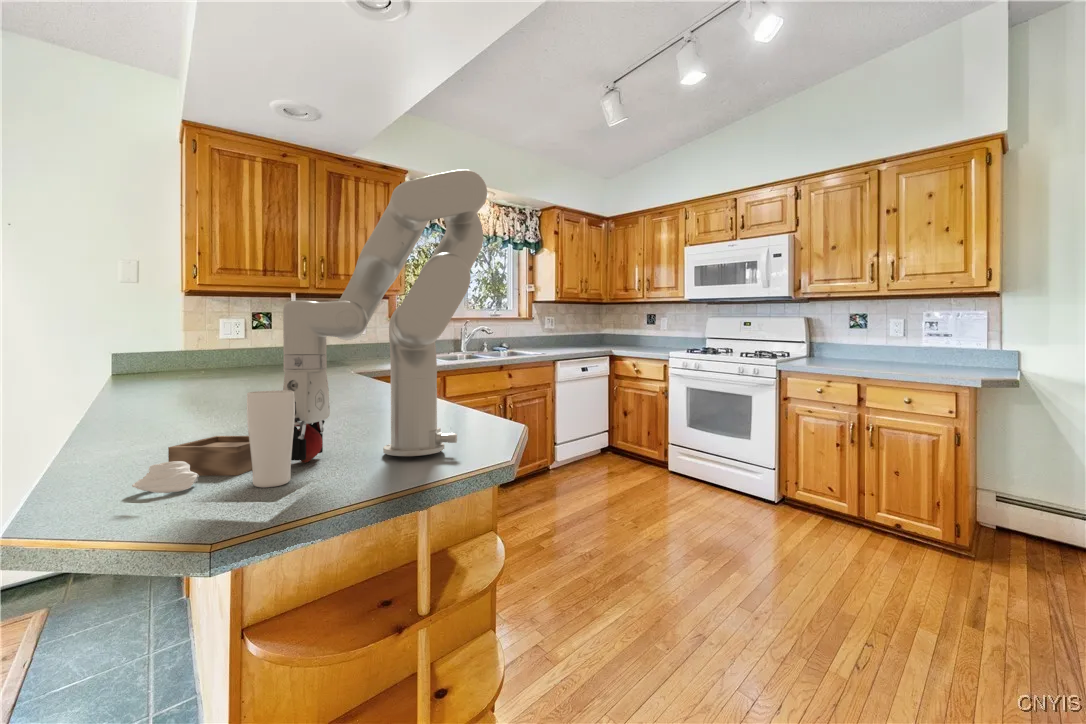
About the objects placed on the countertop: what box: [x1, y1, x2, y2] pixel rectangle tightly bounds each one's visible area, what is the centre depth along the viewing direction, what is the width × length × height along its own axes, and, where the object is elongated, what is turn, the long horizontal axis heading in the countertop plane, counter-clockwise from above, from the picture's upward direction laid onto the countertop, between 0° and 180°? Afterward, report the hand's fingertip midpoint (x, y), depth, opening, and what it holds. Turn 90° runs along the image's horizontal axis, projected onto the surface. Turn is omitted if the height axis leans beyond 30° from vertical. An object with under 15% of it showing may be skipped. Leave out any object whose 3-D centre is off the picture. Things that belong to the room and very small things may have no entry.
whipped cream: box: [131, 461, 200, 494], centre depth 72 cm, size 8×7×5 cm
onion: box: [297, 424, 324, 464], centre depth 92 cm, size 6×6×8 cm
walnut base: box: [167, 435, 252, 477], centre depth 87 cm, size 12×12×5 cm
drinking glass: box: [246, 390, 295, 488], centre depth 76 cm, size 7×7×15 cm
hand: (306, 455), depth 92 cm, fingers closed on onion, 5 cm apart
